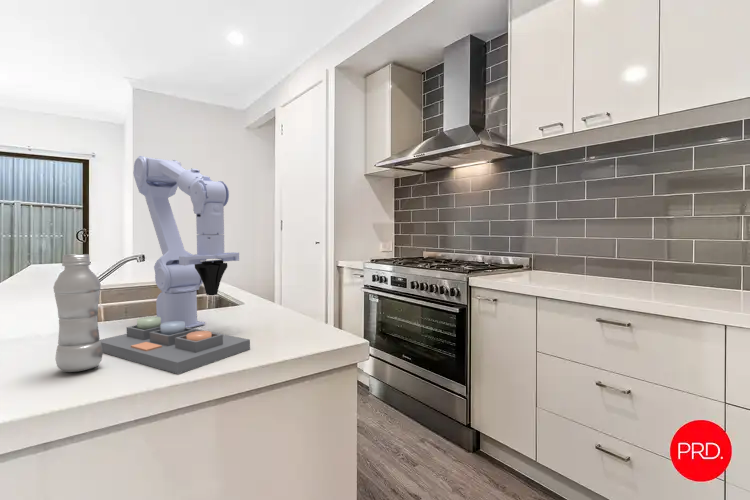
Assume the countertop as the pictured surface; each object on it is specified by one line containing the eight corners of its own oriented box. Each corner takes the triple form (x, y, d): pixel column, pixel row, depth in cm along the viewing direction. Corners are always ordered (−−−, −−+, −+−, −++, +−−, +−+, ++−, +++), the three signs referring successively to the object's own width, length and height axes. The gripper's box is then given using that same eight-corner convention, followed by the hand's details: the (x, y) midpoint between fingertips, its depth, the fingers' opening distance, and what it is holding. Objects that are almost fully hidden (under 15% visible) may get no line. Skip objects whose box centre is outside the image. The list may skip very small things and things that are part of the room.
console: (95, 350, 81) (95, 331, 80) (170, 332, 95) (169, 315, 94) (177, 374, 68) (177, 351, 68) (250, 349, 82) (249, 330, 82)
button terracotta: (181, 345, 76) (181, 334, 76) (201, 339, 80) (201, 329, 80) (196, 348, 74) (196, 338, 74) (216, 342, 78) (216, 332, 78)
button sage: (132, 329, 84) (132, 319, 84) (153, 324, 88) (152, 315, 88) (145, 331, 82) (144, 322, 82) (165, 327, 86) (165, 318, 86)
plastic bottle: (72, 364, 73) (67, 253, 72) (111, 363, 73) (107, 253, 72) (46, 377, 66) (40, 256, 65) (89, 376, 67) (84, 256, 66)
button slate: (155, 334, 80) (155, 324, 80) (176, 329, 84) (175, 319, 84) (169, 337, 78) (169, 327, 78) (189, 332, 82) (189, 322, 82)
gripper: (193, 235, 82) (195, 301, 83) (248, 234, 95) (248, 291, 96) (172, 235, 86) (173, 298, 87) (227, 234, 98) (228, 289, 99)
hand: (211, 294), depth 91 cm, fingers closed
